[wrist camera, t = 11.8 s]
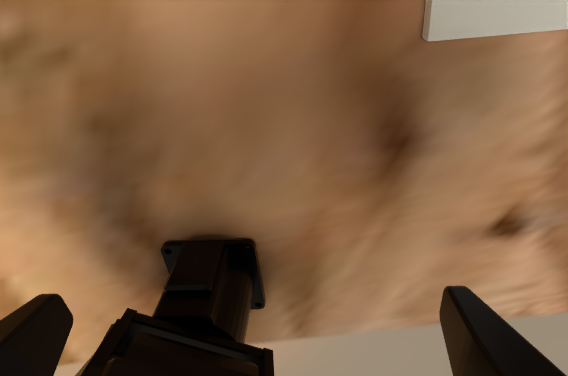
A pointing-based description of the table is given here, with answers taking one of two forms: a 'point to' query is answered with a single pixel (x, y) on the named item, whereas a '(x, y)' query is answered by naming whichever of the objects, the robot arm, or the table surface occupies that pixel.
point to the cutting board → (491, 18)
